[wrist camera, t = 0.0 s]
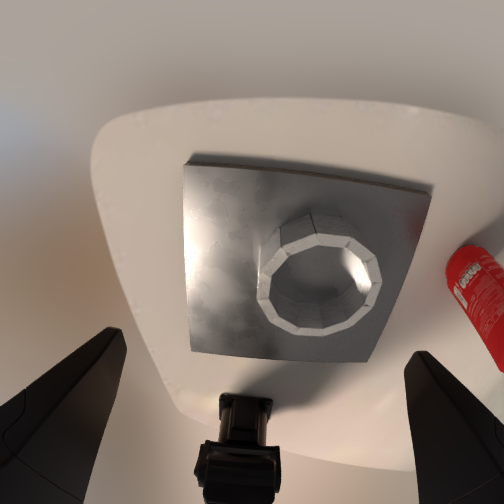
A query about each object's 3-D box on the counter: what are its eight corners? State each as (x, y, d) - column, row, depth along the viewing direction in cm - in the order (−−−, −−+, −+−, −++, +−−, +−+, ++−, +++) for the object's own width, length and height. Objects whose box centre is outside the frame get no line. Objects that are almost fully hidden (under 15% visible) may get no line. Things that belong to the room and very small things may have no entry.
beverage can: (476, 230, 21) (556, 314, 11) (488, 266, 23) (552, 348, 12) (435, 263, 23) (501, 363, 13) (450, 296, 25) (504, 388, 14)
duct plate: (365, 355, 29) (372, 384, 25) (193, 343, 29) (185, 374, 26) (425, 192, 20) (451, 212, 17) (187, 162, 20) (170, 177, 17)
